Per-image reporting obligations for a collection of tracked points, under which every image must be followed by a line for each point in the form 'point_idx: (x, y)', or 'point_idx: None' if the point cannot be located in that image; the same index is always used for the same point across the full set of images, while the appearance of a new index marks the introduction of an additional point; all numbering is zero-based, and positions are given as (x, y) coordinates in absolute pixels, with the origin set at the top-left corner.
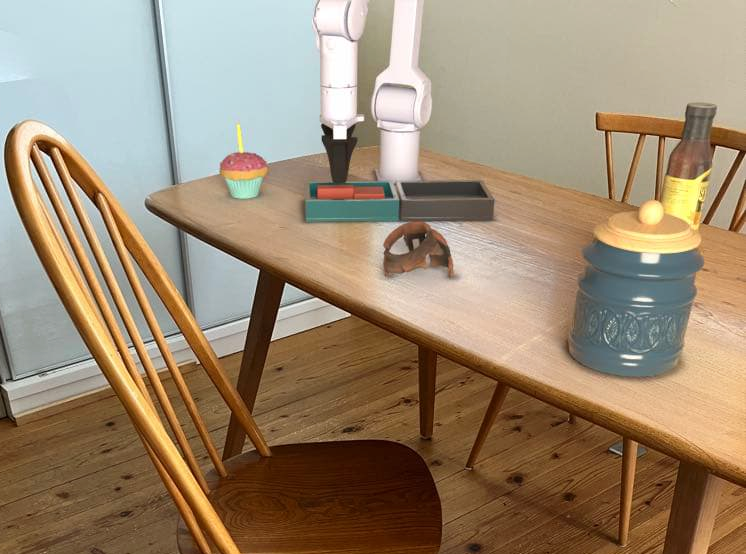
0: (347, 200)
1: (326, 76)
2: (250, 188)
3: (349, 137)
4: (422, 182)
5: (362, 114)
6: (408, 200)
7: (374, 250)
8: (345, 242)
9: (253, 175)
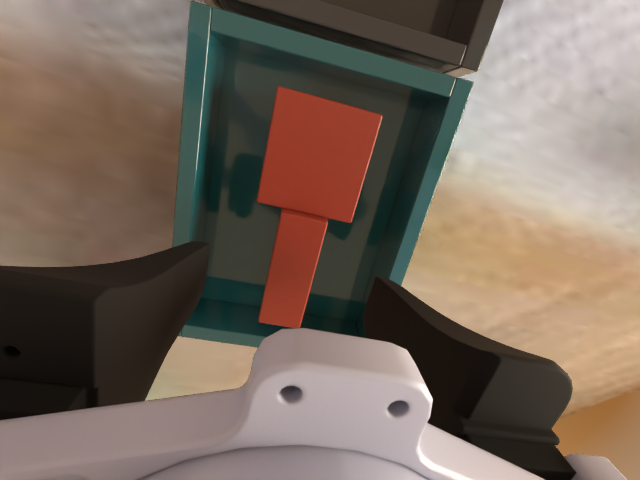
0: (409, 260)
1: None
2: None
3: (482, 403)
4: None
5: (273, 377)
6: (487, 42)
7: (613, 230)
8: (531, 277)
9: None
